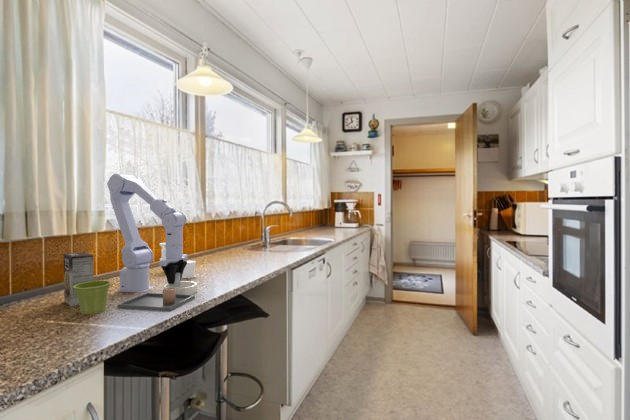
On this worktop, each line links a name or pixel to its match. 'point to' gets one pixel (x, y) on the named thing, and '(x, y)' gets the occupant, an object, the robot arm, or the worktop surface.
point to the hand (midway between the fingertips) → (174, 282)
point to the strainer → (163, 250)
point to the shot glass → (189, 269)
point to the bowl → (184, 287)
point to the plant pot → (92, 296)
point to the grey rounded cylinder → (176, 280)
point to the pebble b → (169, 296)
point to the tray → (155, 302)
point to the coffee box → (76, 274)
